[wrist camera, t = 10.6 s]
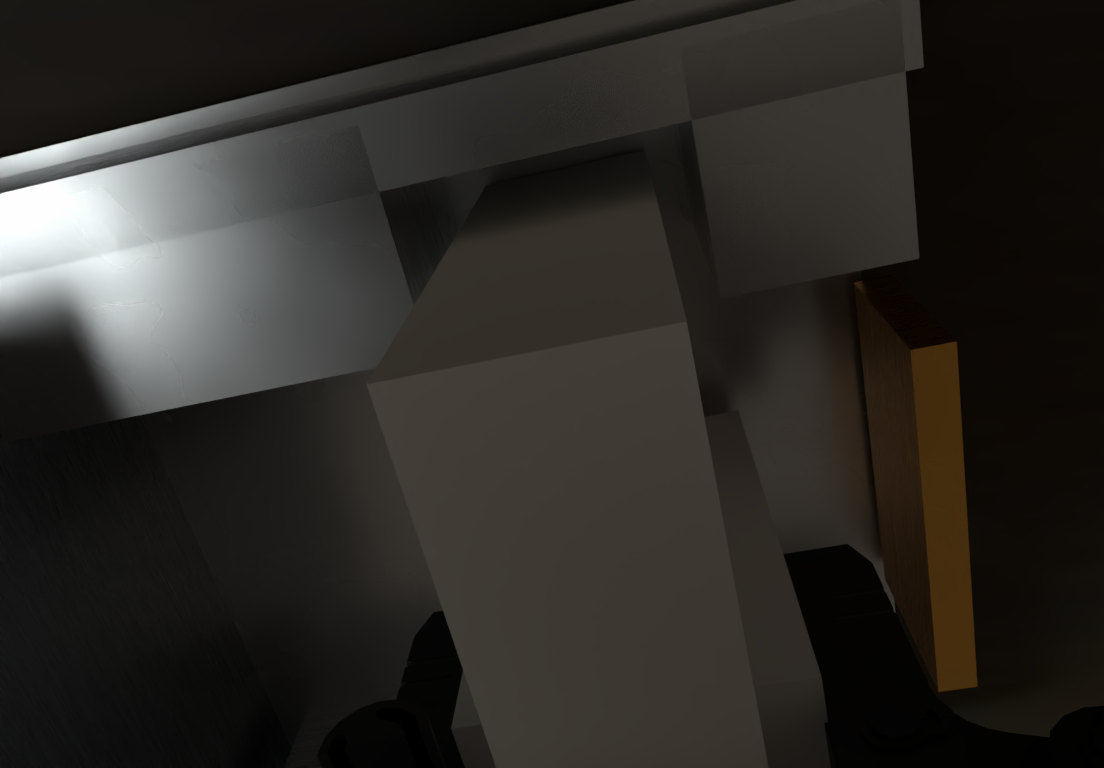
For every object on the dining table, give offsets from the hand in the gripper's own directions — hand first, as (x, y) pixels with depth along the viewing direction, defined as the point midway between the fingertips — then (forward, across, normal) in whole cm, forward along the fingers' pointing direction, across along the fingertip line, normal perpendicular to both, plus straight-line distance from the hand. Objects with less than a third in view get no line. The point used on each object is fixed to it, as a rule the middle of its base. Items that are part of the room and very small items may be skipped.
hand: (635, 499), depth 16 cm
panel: (+1, 0, 0) cm, 1 cm away
